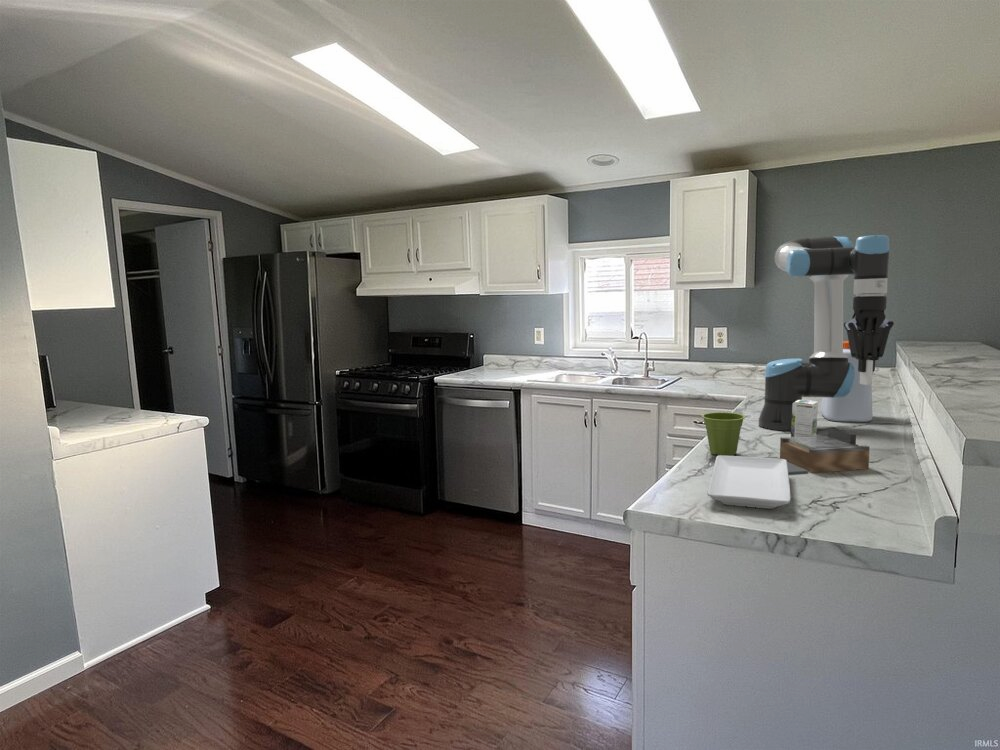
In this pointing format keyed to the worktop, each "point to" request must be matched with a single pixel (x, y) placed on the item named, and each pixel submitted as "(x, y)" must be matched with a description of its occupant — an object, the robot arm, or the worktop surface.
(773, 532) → the worktop surface
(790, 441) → the lid
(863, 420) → the plastic bottle
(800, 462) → the walnut box
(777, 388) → the robot arm
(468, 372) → the worktop surface
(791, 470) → the rubber mat
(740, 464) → the tray
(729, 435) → the plant pot
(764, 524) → the worktop surface
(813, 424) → the syrup box
